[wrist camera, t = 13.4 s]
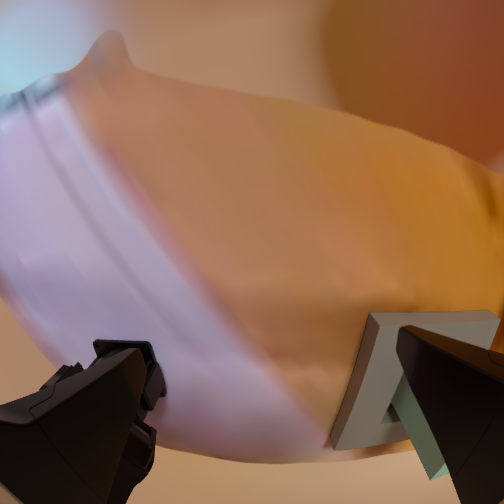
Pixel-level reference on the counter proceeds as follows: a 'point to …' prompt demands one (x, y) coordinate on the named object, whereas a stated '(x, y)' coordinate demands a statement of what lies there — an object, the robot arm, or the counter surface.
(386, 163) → the counter surface
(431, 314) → the socket plate
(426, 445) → the plug block
